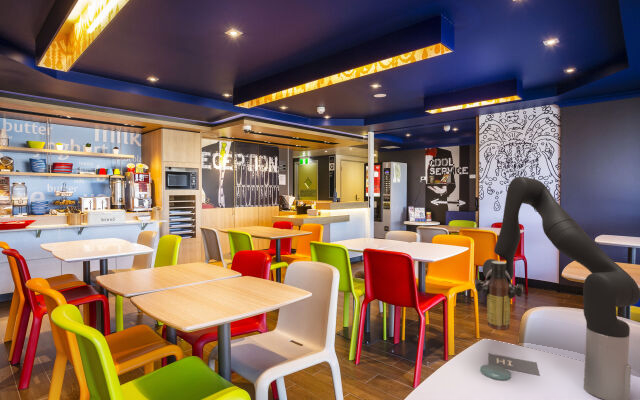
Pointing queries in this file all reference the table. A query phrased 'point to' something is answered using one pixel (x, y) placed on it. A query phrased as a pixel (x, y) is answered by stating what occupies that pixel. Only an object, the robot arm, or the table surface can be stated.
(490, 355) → the grey card
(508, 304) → the sauce bottle
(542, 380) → the table surface
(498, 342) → the table surface
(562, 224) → the robot arm
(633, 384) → the table surface
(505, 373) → the sage green round disc
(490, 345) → the table surface
